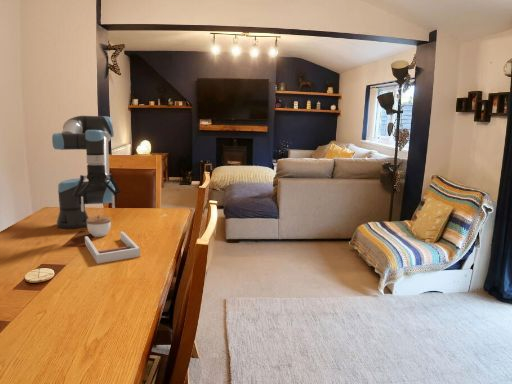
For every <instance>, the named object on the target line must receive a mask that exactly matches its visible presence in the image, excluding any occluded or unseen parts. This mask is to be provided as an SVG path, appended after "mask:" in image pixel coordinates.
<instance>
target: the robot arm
mask: <svg viewBox="0 0 512 384" xmlns="http://www.w3.org/2000/svg"><path fill="white" fill-rule="evenodd" d="M113 137H114V127H113V122H112V118H111V117H110V116H106V115H105V116H104V115H97V116H96V115H79V116H78V115H77V116H74V117H71V118H69V119H67V120H66V121H65V122H64V124H63V125H62V131H61V132H57V133H53V134H52V137H51V138H52V140H51V142H52V147H53V149H54V150H61V151H63V150H64V151H65V150H66V151H67V150H72V151H73V150H86V164H87V165H86V169H87V170H86V171H87V175H83V174H80V176H79V178H70V179H67V180H63V181H60V182H59V183H58V185H57V187H58V188H57V189H58V190H57V193H58V204H59V214H58V216H57V220H56V227H57V228H59V229H80V228H83V227H87V222H86V220H87V219H88V218H89V215H88V213H87V211H86V205H98V204H99V205H100V204H101V205H102V204H104V205H105V204H111V208H112V209H116V206H115V205H116V203H115V202H117V201H118V198H117V195H118V194H120V193H121V190H120V188H119V186H118V185H117V183H116V180H115V179H114V176H113V174H112V173H110V164H109V163H110V162H109V161H110V159H109V156H110V154H109V142H110V141H111V139H112V138H113ZM86 179H87V180H88V181H87V180H86ZM85 180H86V181H85Z"/></svg>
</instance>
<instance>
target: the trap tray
mask: <svg viewBox="0 0 512 384" xmlns="http://www.w3.org/2000/svg"><path fill="white" fill-rule="evenodd" d="M125 249H132V248H131V247H130V246H128V247H127V246H121V247H116V248H110V249H109V248H108V249H103V250H97V251H98V252H99V254H100V253H106V252H113V251H119V250H125Z"/></svg>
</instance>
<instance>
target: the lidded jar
mask: <svg viewBox="0 0 512 384" xmlns="http://www.w3.org/2000/svg"><path fill="white" fill-rule="evenodd" d="M111 219H112V218H111V217H109V216H106V215H105V216H100V215H97V216H93V217H88V219H87V220H86V222H87V226H86V227H87V231H88V232H89V234H90V235H92V237H94V238H101V237H105V236H107V234H108V233H109V232H110V230H111V225H112V224H111V222H112V220H111Z"/></svg>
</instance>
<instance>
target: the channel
mask: <svg viewBox="0 0 512 384" xmlns="http://www.w3.org/2000/svg"><path fill="white" fill-rule="evenodd" d="M120 240H121V241H122V243H124V244H125V245H126V247H128V246H130V247H131V248H132V249H125V250H119V251H113V252H106V253H100V254H99V252H98V251H99V250H98V249H97V248H96V246H95V245H94V243H93V242H92V240H91V239H90V238H89V236H84V244H85V246H86V248H87V250H88V252H90V255H91V256H92V257H93V259H94V261H95V262H96V264H98V265H99V264H103V263H109V262H116V261H120V260H121V261H122V260H127V259H134V258H139V257H141V249H140V248H141V247H140V246H139V245H137V244H136V243H135V242H134V241H133V240H132V239H131V238H130V237H129V236H128V234H127V233H126V232H124V231H120Z"/></svg>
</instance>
